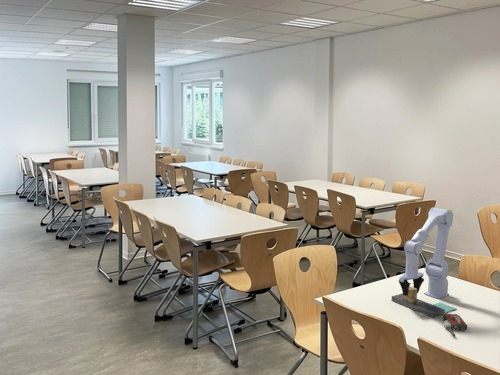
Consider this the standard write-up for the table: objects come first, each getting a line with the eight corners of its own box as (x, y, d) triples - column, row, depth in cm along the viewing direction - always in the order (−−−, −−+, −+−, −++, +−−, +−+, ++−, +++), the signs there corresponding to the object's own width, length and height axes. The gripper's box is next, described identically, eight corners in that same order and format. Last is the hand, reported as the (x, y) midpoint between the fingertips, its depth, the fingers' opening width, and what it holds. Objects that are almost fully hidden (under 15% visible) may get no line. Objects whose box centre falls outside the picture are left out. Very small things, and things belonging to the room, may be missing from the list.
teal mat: (440, 303, 234) (440, 302, 234) (456, 309, 227) (456, 308, 227) (427, 306, 230) (427, 306, 230) (444, 313, 222) (444, 312, 222)
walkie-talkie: (437, 318, 217) (451, 338, 197) (438, 309, 216) (452, 328, 197) (458, 319, 216) (474, 340, 196) (458, 310, 216) (474, 329, 196)
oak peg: (409, 302, 236) (410, 286, 234) (416, 304, 232) (417, 288, 231) (404, 303, 233) (404, 287, 232) (410, 306, 230) (411, 290, 229)
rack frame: (402, 297, 242) (403, 293, 241) (444, 314, 221) (444, 309, 221) (391, 300, 237) (391, 296, 237) (432, 317, 217) (433, 312, 217)
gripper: (415, 261, 237) (414, 288, 239) (394, 266, 230) (393, 294, 232) (427, 265, 231) (426, 293, 233) (406, 270, 224) (405, 298, 226)
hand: (410, 293), depth 232 cm, fingers open, 7 cm apart
